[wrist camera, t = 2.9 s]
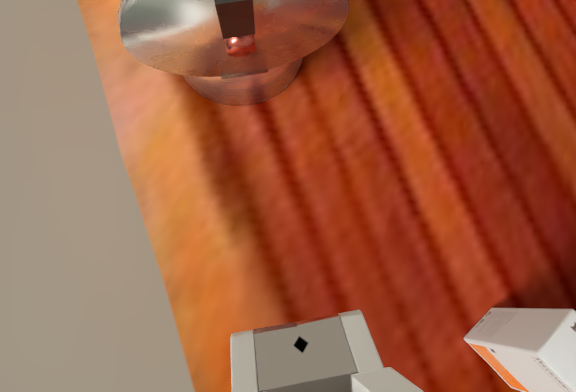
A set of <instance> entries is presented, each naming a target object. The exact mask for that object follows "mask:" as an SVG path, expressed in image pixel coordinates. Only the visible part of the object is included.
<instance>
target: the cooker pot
mask: <svg viewBox="0 0 576 392" xmlns="http://www.w3.org/2000/svg"><path fill="white" fill-rule="evenodd" d="M302 60H303V57H302V58H300V59H298V60H295V61H293V62H290V63H288V64H285V65H282V66H279V67H275V68H272V69H268V72H267V73H261V74H254V75H247V76H241V77H234V78H228V79H222V78H221V77H198V76H186V75H182V76H183V77H184V79H185V80H186V82H187V83H188V84H189V85H190V86H191V87H192V88H193V89H194V90H195V91H196V92H198V93H199V94H200V95H202V96H204V97H205V98H207V99H209V100H212V101H214V102H217V103H221V104H225V105H231V106H245V105H252V104H257V103H260V102H263V101H266V100H268V99H270V98H272V97H274V96H276V95H277V94H279V93H280V92H282V91H283V90H284V89H285V88H286V87H287V86H288V85H289V84H290V83H291V82H292V81H293V79H294V78H295V76H296V75H297V73H298V71H299V69H300V66H301V63H302Z"/></svg>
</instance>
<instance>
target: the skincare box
mask: <svg viewBox="0 0 576 392" xmlns="http://www.w3.org/2000/svg"><path fill="white" fill-rule="evenodd" d="M464 340H465V341H466V342H467V343H468V344H469V345H470V346H471V347H472V348H473V349H474V350H475V351H476V352H477V353H478V354H479V355H480V356H481V357H482V358H483V359H484V360H485V361H486V362H487V363H488V364H489V365H490V366H491V367H492V368H493V369H494V370H495V371H496V372H497V374H498V375H499V376H500V377H501V378H502V379H503V380H504V381H505V382H506V383H507V384H508V385H509V386H510V387H511V388H513V389H516V390H519V391H521V392H576V311H575V310H574V309H542V308H491V309H490V310H489V311H488V312H487V313H486V314H485V315H484V316H483V317H482V318H481V320H480V321H479V322H478V323H477V324H476V325H475V326H474V327H473V328H472V329H471V330H470V331H469V333H468V334H467V335H466V336H465V337H464Z"/></svg>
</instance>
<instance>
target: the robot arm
mask: <svg viewBox="0 0 576 392" xmlns="http://www.w3.org/2000/svg"><path fill="white" fill-rule="evenodd" d="M230 344H231V385H232V392H424V391H422V390H421V389H420V388H418V387H417V386H416V385H414V384H413V383H412V382H410V381H409V380H408V379H406V378H405V377H404V376H402V375H401V374H399V373H398V372H397V371H395V370H394V369H393V368H391V367H387V368H384V367H383V364H382V362H381V359H380V357H379V354H378V351H377V349H376V346H375V344H374V341H373V339H372V336H371V334H370V331H369V329H368V326H367V324H366V321H365V319H364V316H363V313H362V312H361V311H360V310H355V311H350V312H345V313H339V314H334V315H329V316H323V317H318V318H313V319H308V320H303V321H298V322H296V323H290V324H283V325H277V326H271V327H265V328H258V329H254V330H248V331H242V332H236V333H232V334H231V339H230Z"/></svg>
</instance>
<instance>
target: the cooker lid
mask: <svg viewBox="0 0 576 392" xmlns="http://www.w3.org/2000/svg"><path fill="white" fill-rule="evenodd" d="M348 12H349V2H348V0H122V2H121V4H120V8H119V11H118V22H119V28H120V35H121V39H122V42H123V44H124V46H125V48H126V49H127V51H128V52H129V53H130V54H131V55H132V56H133V57H135V58H136V59H138V60H139V61H141V62H142V63H144V64H146V65H148V66H151V67H153V68H156V69H159V70H162V71H165V72H169V73H174V74H179V75H186V76H198V77H221V78H222V79H228V78H234V77H241V76H247V75H254V74H261V73H267V72H268V69H272V68H275V67H279V66H282V65H285V64H288V63H290V62H293V61H295V60H298V59H300V58H302V57H304V56H306V55H308V54H310V53H312V52H314V51H315V50H317V49H319V48H320V47H322V46H323V45H325V44H326V43H327V42H328V41H330V40H331V39H332V38H333V37H334V36H335V35H336V34H337V33H338V32H339V31H340V29H341V28H342V27H343V25H344V23H345V21H346V19H347V16H348Z"/></svg>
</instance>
